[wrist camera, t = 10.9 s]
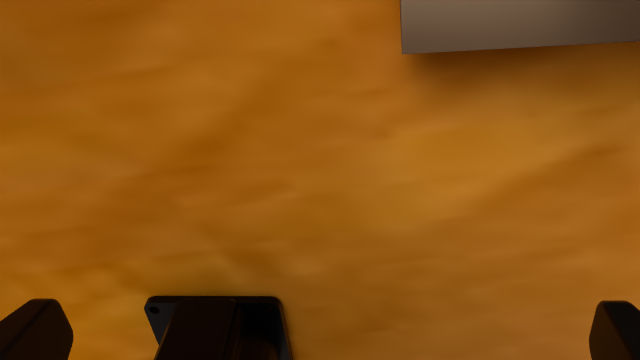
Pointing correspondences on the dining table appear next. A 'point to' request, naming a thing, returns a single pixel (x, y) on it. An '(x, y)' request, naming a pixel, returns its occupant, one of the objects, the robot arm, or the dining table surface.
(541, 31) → the walnut block
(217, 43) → the dining table surface
